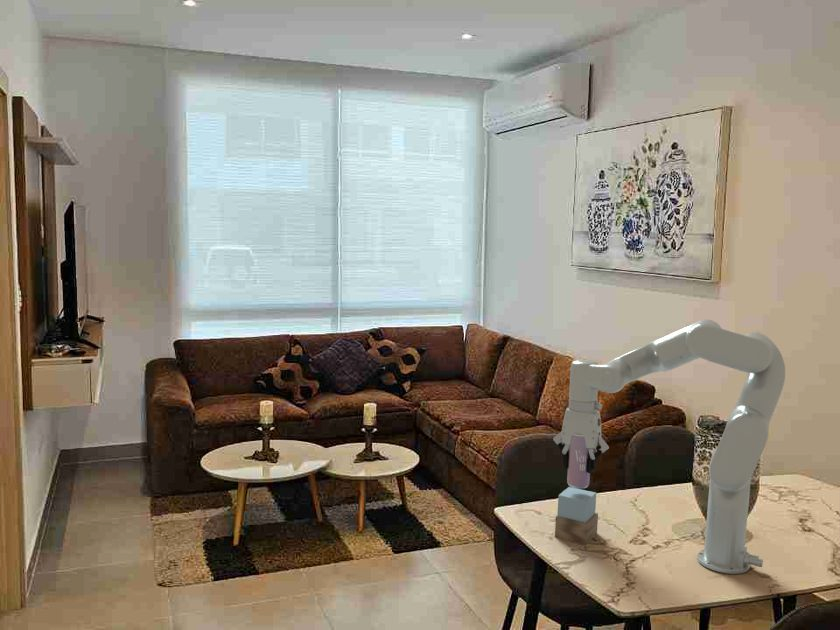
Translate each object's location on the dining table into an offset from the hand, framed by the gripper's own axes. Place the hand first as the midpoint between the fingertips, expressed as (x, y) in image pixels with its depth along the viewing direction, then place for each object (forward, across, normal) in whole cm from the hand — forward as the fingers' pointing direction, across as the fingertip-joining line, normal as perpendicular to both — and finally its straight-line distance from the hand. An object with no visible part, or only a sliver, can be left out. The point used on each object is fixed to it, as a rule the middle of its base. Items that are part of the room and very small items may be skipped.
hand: (579, 469), depth 210 cm
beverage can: (+5, 0, 0) cm, 5 cm away
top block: (+13, 0, 0) cm, 13 cm away
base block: (+19, 0, 0) cm, 19 cm away
